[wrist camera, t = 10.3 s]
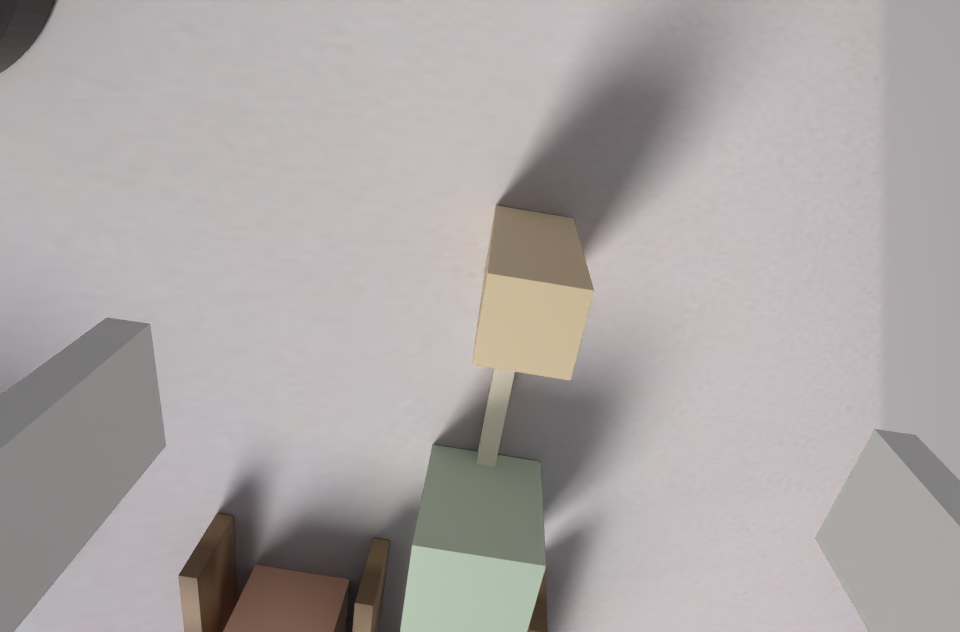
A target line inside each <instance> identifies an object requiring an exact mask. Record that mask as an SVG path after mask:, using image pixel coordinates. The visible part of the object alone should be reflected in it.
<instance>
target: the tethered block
mask: <svg viewBox="0 0 960 632" xmlns="http://www.w3.org/2000/svg"><path fill="white" fill-rule="evenodd" d="M593 293H594V289H593V285H592V282H591V278H590V275H589V271H588V267H587V264H586V260H585V257H584V253H583V250H582V246H581V243H580V239H579V236H578V232H577V229H576V225H575V222H574V218H570V217H564V216H557V215H551V214H545V213H539V212H533V211H527V210H521V209H515V208H509V207H503V206H497V205H496V208H495V214H494V220H493V226H492V232H491V238H490V244H489V250H488V256H487V261H486V267H485V273H484V280H483V287H482V295H481V302H480V309H479V317H478V324H477V331H476V338H475V346H474V353H473V360H472V365H476V366H483V367H489V368H494V369H493V374H492V379H491V384H490V390H489V395H488V400H487V405H486V411H485V416H484V421H483V427H482V432H481V437H480V442H479V448H478V452H477V451H471V450H465V449H458V448H452V447H446V446H439V445H432V450H431V455H430V460H429V465H428V470H427V474H426V479H425V484H424V489H423V494H422V499H421V504H420V509H419V514H418V519H417V523H416V528H415V533H414V538H413V543H412V549H411V556H410V564H409V571H408V578H407V585H406V592H405V599H404V607H403V614H402V621H401V628H400V632H527V631H528V627H529V624H530V620H531V617H532V613H533V610H534V606H535V603H536V599H537V596H538V592H539V589H540V585H541V582H542V578H543V575H544V572H545V568H546V556H545V536H544V516H543V497H542V477H541V462H540V461H534V460H527V459H521V458H515V457H509V456H502V455H498V451H499V446H500V441H501V436H502V431H503V427H504V422H505V417H506V412H507V408H508V403H509V398H510V393H511V389H512V384H513V379H514V374H515V372H520V373H526V374H532V375H538V376H545V377H551V378H557V379H563V380H569V381H571V377H572V373H573V369H574V365H575V362H576V358H577V354H578V350H579V346H580V342H581V339H582V335H583V331H584V327H585V323H586V319H587V316H588V312H589V308H590V304H591V300H592V297H593Z"/></svg>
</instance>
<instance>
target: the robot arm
mask: <svg viewBox="0 0 960 632" xmlns="http://www.w3.org/2000/svg"><path fill="white" fill-rule="evenodd" d="M52 3H53V0H0V73H1V72H2V71H4V70H6V69H7V68H8V67H10V66H11V65H12V64H14V63H15V62H16V61H17V60H18V59H19V58H20V57H21V56H22V55H23V54H24V53H25V52H26V51H27V50H28V49H29V48H30V46H31V45H32V43H33V42H34V41H35V39H36V38H37V36H38V35H39V33H40V31H41V29H42V28H43V26H44V24H45V21H46V19H47V17H48V15H49V12H50V9H51V6H52ZM165 446H166V442H165V434H164V426H163V419H162V411H161V403H160V396H159V388H158V381H157V373H156V365H155V358H154V350H153V343H152V335H151V327H150V324H148V323H141V322H134V321H127V320H120V319H113V318H106V319H104V320H103V321H102V322H100V323H99V324H98V325H96V326H95V327H93V328H92V329H91V330H89V331H88V332H87V333H85V334H84V335H83V336H81V337H80V338H78V339H77V340H76V341H74V342H73V343H72V344H70V345H69V346H68V347H66V348H65V349H63V350H62V351H61V352H59V353H58V354H57V355H55V356H54V357H53V358H51V359H50V360H48V361H47V362H46V363H44V364H43V365H42V366H40V367H39V368H38V369H36V370H35V371H33V372H32V373H31V374H29V375H28V376H27V377H25V378H24V379H23V380H21V381H20V382H18V383H17V384H16V385H14V386H13V387H12V388H10V389H9V390H8V391H6V392H5V393H3V394H2V395H1V396H0V632H14V631H15V630H16V629H17V627H18V626H19V625H20V624H21V622H22V621H23V620H24V619H25V618H26V616H27V615H28V614H29V613H30V611H31V610H32V609H33V608H34V607H35V605H36V604H37V603H38V602H39V600H40V599H41V598H42V597H43V596H44V594H45V593H46V592H47V591H48V589H49V588H50V587H51V586H52V585H53V583H54V582H55V581H56V580H57V578H58V577H59V576H60V575H61V574H62V572H63V571H64V570H65V569H66V567H67V566H68V565H69V564H70V562H71V561H72V560H73V559H74V558H75V556H76V555H77V554H78V553H79V551H80V550H81V549H82V548H83V547H84V545H85V544H86V543H87V542H88V540H89V539H90V538H91V537H92V536H93V534H94V533H95V532H96V531H97V529H98V528H99V527H100V526H101V525H102V523H103V522H104V521H105V520H106V518H107V517H108V516H109V515H110V514H111V512H112V511H113V510H114V509H115V507H116V506H117V505H118V504H119V502H120V501H121V500H122V499H123V498H124V496H125V495H126V494H127V493H128V491H129V490H130V489H131V488H132V487H133V485H134V484H135V483H136V482H137V480H138V479H139V478H140V477H141V476H142V474H143V473H144V472H145V471H146V469H147V468H148V467H149V466H150V465H151V463H152V462H153V461H154V460H155V458H156V457H157V456H158V455H159V454H160V452H161V451H162V450H163V449H164V447H165ZM815 539H816V541H817V542H818V544H819V546H820V548H821V549H822V551H823V553H824V555H825V556H826V558H827V560H828V562H829V563H830V565H831V567H832V569H833V570H834V572H835V574H836V575H837V577H838V579H839V581H840V582H841V584H842V586H843V588H844V589H845V591H846V593H847V595H848V596H849V598H850V600H851V601H852V603H853V605H854V607H855V608H856V610H857V612H858V614H859V615H860V617H861V619H862V621H863V622H864V624H865V626H866V627H867V629H868V631H869V632H960V481H959V479H958V478H957V477H956V476H955V475H954V474H953V473H952V472H951V471H950V470H949V469H948V468H947V467H946V466H945V465H944V464H943V463H942V462H941V461H940V460H939V459H938V458H937V457H936V455H935V454H934V453H933V452H932V451H930V449H929V448H928V447H927V446H926V445H925V444H924V443H923V442H922V441H921V440H920V439H919V438H918V437H917V436H916V435H912V434H905V433H898V432H891V431H884V430H877V429H874V431H873V433H872V434H871V436H870V438H869V440H868V442H867V444H866V445H865V447H864V449H863V451H862V453H861V455H860V456H859V458H858V460H857V462H856V464H855V466H854V467H853V469H852V471H851V473H850V475H849V476H848V478H847V480H846V482H845V484H844V486H843V487H842V489H841V491H840V493H839V495H838V497H837V498H836V500H835V502H834V504H833V506H832V508H831V509H830V511H829V513H828V515H827V517H826V518H825V520H824V522H823V524H822V526H821V528H820V529H819V531H818V533H817V535H816V537H815Z"/></svg>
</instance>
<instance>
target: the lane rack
mask: <svg viewBox="0 0 960 632" xmlns="http://www.w3.org/2000/svg"><path fill="white" fill-rule="evenodd" d="M389 541H390V540H384V539H377V538H373V540H372V544H371V547H370V551H369V554H368V558H367V562H366V565H365V569H364V572H363V576H362V579H361V583H360V586H359V590H358V593H357V597H356V600H355V606H354V618H353V630H352V632H379V627H380V618H381V610H382V601H383V593H384V584H385V575H386V567H387V558H388V550H389ZM179 585H180V594H181V604H182V613H183V622H184V631H185V632H223V631H224V629H225V627H226V625H227V622H228V620H229V618H230V616H231V614H232V612H233V610H234V608H235V606H236V604H237V583H236V562H235V540H234V519H233V516H231V515H224V514H218V513H217V514H216V516H215V517H214V519H213V520H212V522H211V524H210V525H209V527H208V529H207V530H206V532H205V533H204V535H203V537H202V538H201V540H200V542H199V543H198V545H197V546H196V548H195V550H194V551H193V553H192V555H191V556H190V558H189V559H188V561H187V563H186V564H185V566H184V568H183V569H182V571H181V572H180V574H179ZM527 632H548V627H547V607H546V586H545V572H544V575H543V578H542V582H541V585H540V589H539V592H538V596H537V599H536V603H535V606H534V610H533V613H532V617H531V620H530V624H529V627H528V631H527Z"/></svg>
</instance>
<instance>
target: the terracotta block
mask: <svg viewBox="0 0 960 632" xmlns="http://www.w3.org/2000/svg"><path fill="white" fill-rule="evenodd" d="M348 592H349V579H343V578H337V577H330V576H324V575H318V574H311V573H305V572H299V571H292V570H286V569H280V568H274V567H267V566H261V565H255V567H254V569H253V571H252V573H251V575H250V577H249V579H248V581H247V583H246V586H245V588H244V590H243V592H242V594H241V596H240V598H239V600H238V602H237V604H236V606H235V608H234V610H233V612H232V614H231V616H230V618H229V620H228V622H227V625H226V627H225V629H224V631H223V632H345V628H346V616H347V604H348Z"/></svg>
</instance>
